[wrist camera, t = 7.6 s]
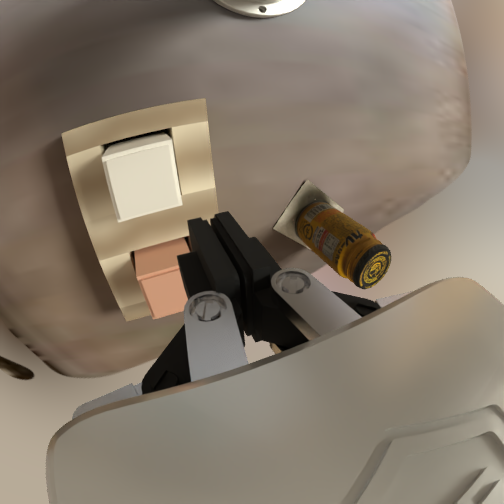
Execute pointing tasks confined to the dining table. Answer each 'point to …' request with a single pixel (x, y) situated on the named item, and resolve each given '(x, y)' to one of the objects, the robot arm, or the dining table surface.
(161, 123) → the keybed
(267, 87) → the dining table surface
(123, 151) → the ivory key
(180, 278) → the terracotta key
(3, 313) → the dining table surface
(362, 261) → the condiment
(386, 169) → the dining table surface
